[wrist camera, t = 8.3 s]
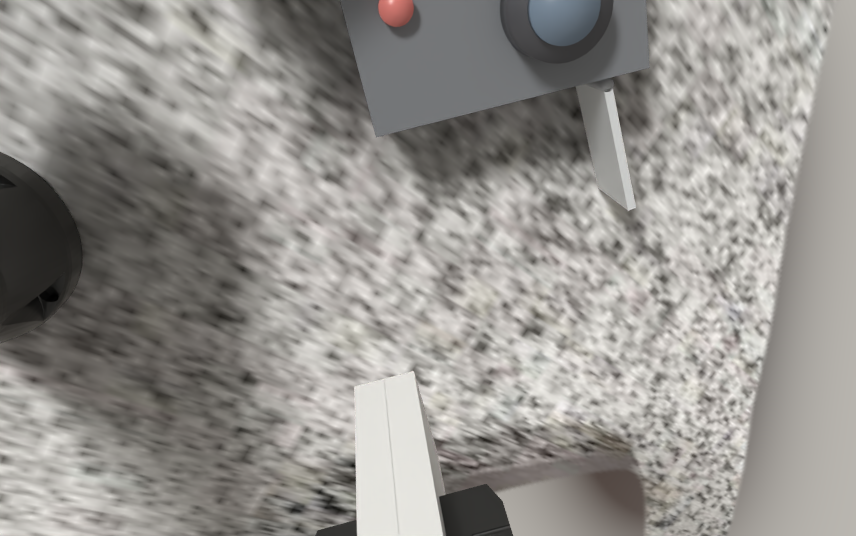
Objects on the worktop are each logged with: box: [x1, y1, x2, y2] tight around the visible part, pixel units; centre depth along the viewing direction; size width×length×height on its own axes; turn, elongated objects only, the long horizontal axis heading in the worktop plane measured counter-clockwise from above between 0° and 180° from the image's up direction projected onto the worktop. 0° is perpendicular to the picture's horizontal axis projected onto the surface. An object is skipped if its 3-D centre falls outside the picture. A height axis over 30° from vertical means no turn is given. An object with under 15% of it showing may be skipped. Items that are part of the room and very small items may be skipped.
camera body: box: [340, 0, 649, 137], centre depth 37 cm, size 18×10×10 cm, turn 103°
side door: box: [576, 78, 636, 211], centre depth 43 cm, size 10×1×6 cm, turn 19°
